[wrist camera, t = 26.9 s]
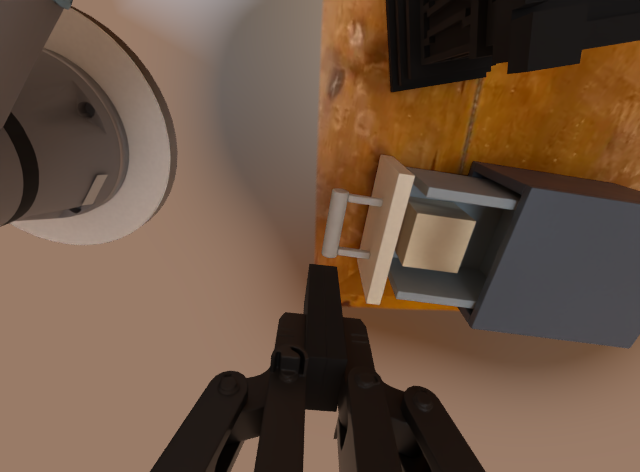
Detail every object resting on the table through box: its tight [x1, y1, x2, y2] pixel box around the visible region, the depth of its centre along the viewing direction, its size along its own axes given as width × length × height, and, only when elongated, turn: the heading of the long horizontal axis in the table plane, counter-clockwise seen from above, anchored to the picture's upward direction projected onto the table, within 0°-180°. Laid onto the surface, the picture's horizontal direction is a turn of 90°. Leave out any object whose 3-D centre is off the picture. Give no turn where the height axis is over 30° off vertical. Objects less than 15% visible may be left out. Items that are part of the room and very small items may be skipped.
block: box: [395, 196, 476, 273], centre depth 29 cm, size 5×5×5 cm
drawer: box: [322, 155, 522, 309], centre depth 29 cm, size 18×11×8 cm, turn 81°
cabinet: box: [458, 161, 640, 348], centre depth 30 cm, size 15×13×10 cm
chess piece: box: [386, 0, 640, 92], centre depth 18 cm, size 8×8×20 cm
